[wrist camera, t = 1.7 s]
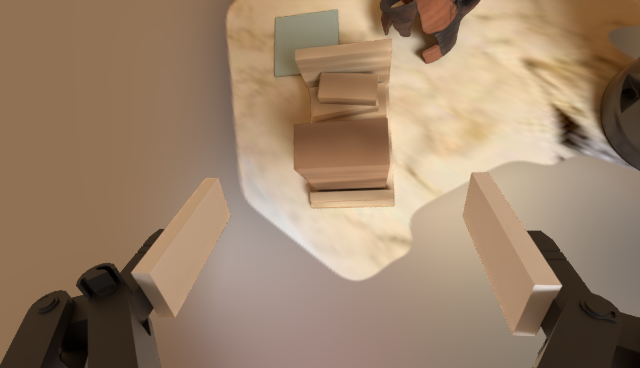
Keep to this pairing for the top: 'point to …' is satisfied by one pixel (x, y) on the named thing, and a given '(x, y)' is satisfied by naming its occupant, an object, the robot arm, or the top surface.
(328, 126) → the brown rectangular block
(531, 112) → the top surface
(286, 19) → the felt mat
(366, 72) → the rack
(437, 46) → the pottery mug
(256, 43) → the top surface
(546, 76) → the top surface
